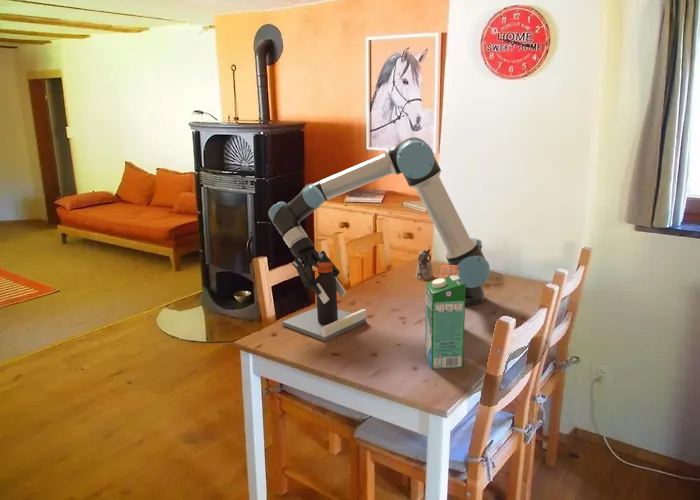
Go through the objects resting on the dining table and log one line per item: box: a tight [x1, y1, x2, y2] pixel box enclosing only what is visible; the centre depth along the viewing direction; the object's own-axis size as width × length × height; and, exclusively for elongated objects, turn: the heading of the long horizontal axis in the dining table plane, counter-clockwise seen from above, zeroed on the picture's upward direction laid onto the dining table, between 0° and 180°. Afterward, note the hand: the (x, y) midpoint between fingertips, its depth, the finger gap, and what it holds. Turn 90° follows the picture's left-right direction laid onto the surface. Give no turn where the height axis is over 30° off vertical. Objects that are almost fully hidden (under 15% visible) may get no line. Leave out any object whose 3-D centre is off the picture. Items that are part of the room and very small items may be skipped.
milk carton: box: [424, 274, 466, 370], centre depth 161 cm, size 9×9×25 cm
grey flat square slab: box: [281, 307, 367, 342], centre depth 192 cm, size 20×20×4 cm
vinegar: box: [315, 262, 338, 325], centre depth 188 cm, size 7×7×20 cm
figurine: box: [415, 248, 434, 281], centre depth 236 cm, size 7×7×12 cm
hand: (335, 298), depth 186 cm, fingers open, 7 cm apart
